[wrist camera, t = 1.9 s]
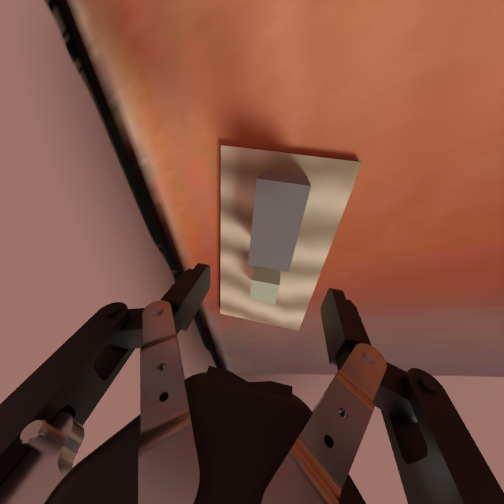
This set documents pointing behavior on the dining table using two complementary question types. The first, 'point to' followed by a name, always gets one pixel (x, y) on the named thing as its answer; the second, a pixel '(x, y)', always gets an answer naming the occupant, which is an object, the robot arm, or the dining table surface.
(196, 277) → the robot arm
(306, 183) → the block
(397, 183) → the dining table surface
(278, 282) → the wood offcut
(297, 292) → the plywood board
